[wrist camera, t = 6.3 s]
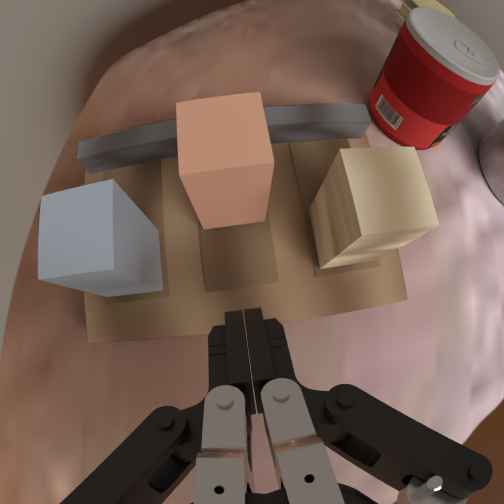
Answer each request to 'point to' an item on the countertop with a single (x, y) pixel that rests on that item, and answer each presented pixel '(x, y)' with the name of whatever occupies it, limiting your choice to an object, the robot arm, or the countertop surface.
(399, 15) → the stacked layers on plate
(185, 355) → the countertop surface
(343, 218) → the maple key
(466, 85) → the canned food
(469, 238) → the countertop surface
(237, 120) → the salmon orange block
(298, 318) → the wooden board with bar
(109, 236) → the slate key
